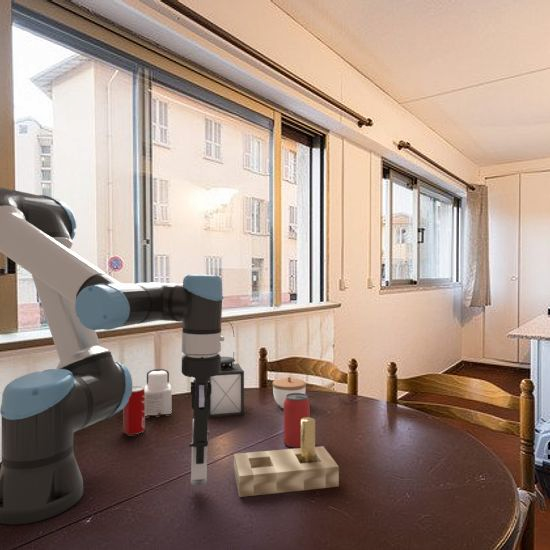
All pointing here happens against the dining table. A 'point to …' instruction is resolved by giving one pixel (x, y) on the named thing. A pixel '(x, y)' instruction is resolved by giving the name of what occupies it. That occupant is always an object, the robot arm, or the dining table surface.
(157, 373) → the container
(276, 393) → the lidded jar
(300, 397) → the beer can
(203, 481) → the steel pin
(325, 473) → the pin block
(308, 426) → the brass pin
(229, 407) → the lantern
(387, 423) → the dining table surface
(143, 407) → the soda can
